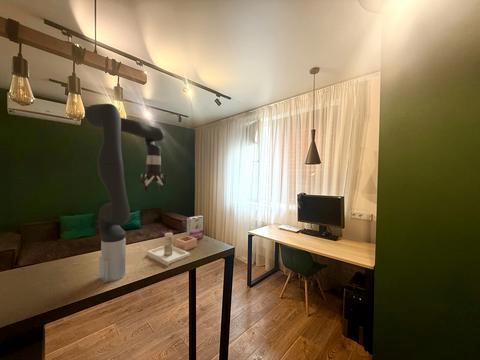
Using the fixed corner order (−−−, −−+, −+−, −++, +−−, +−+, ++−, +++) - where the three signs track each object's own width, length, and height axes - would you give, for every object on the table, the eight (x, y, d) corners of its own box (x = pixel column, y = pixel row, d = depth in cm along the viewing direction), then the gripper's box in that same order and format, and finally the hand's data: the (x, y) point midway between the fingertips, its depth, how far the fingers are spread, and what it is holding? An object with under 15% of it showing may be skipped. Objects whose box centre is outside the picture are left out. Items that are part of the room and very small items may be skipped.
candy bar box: (199, 237, 145) (200, 215, 144) (203, 238, 141) (204, 216, 141) (186, 240, 137) (186, 217, 137) (189, 242, 134) (190, 218, 133)
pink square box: (184, 252, 117) (185, 242, 117) (175, 248, 122) (175, 238, 122) (196, 247, 124) (197, 238, 124) (187, 244, 130) (187, 235, 130)
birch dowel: (167, 256, 108) (167, 235, 107) (162, 254, 110) (163, 233, 110) (173, 254, 111) (174, 233, 111) (169, 252, 114) (169, 231, 114)
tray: (167, 266, 99) (167, 261, 99) (147, 255, 111) (147, 250, 111) (189, 257, 111) (189, 252, 110) (168, 248, 122) (169, 244, 122)
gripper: (144, 163, 104) (144, 193, 104) (168, 164, 115) (168, 191, 116) (138, 163, 108) (137, 192, 109) (161, 164, 119) (161, 190, 120)
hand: (153, 192), depth 112 cm, fingers open, 8 cm apart
